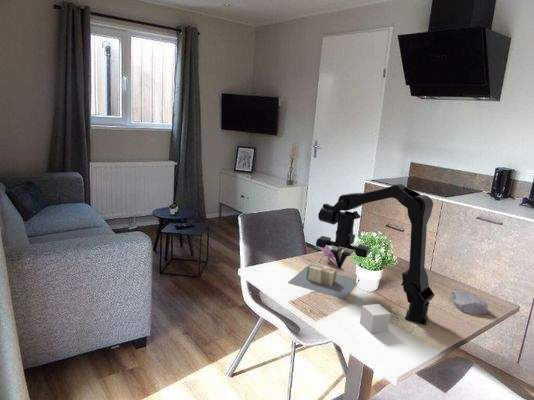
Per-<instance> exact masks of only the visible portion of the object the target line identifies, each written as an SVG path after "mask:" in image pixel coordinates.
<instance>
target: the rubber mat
mask: <svg viewBox="0 0 534 400" xmlns="http://www.w3.org/2000/svg"><path fill="white" fill-rule="evenodd" d="M308 266H309V265H308ZM308 266H307V265H306V266H305V267H304V268H303V269H302V270H301V271H299V272H298V273H297V274H296V275H295V276H294V277H292V278H291V279H289V281H288V282H287V284H290V285H293V286H298V287H300V288H304V289H307V290H310V291H314V292H318V293H322V294H324V295H328V296H332V297H335V298H337V299H342V300H347V298H348V297H349V296H350V295H351V293H352V292H353V290H354V289H355V288H356V286H357V285H358V283H357V284H356V279H357V278H353V277H349V276H346V275H342V274H338V273H336V281H335V283H334V284H333V285H332V286H329V285H326V284H322V283H318V282H315V281H311V280H308V279H306V276H307V268H308Z"/></svg>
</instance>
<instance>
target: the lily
mask: <svg viewBox="0 0 534 400" xmlns="http://www.w3.org/2000/svg"><path fill="white" fill-rule="evenodd" d="M318 248H319V250H321V251H323V253H322V255H323V256H322V257H321V258H320V260H319V262H318V263H320V262H321V260H322V259H323V258H324V257H327V259H331V260H332V262H334V263H335V264H336V265H337V263H336V259H335V257H334V255H333V252H330V250H331V248H330V246H328V245H326V246H325V247H324V248H322V247H318Z"/></svg>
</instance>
